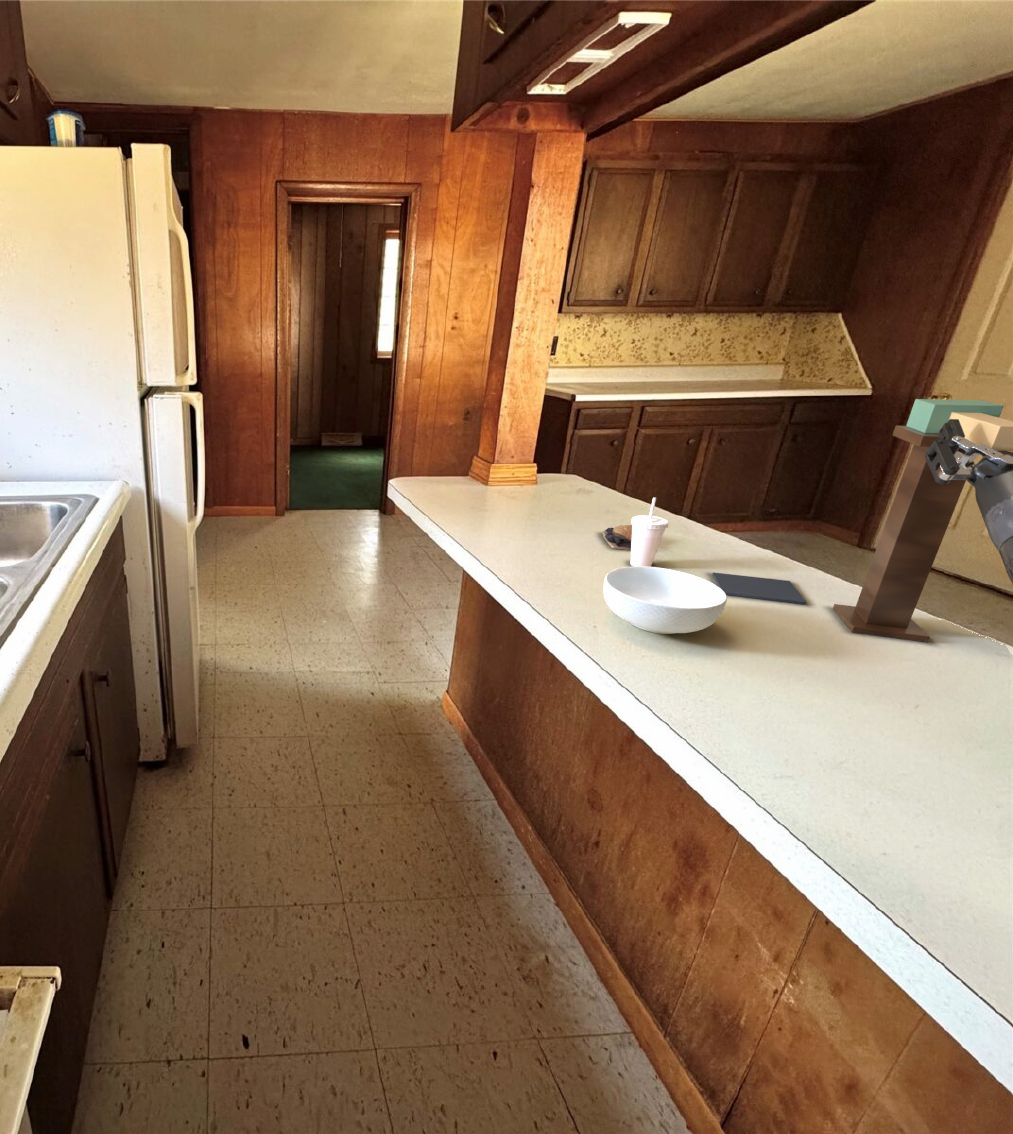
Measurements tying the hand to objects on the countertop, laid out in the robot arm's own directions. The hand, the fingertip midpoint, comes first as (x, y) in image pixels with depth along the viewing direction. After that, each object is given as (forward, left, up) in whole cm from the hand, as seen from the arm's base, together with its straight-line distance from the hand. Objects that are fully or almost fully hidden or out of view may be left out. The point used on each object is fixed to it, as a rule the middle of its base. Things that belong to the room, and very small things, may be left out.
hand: (994, 425), depth 80 cm
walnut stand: (0, -9, -33) cm, 35 cm away
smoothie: (+32, -25, -34) cm, 53 cm away
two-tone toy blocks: (0, -4, -2) cm, 5 cm away
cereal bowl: (+32, +3, -34) cm, 47 cm away
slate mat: (+14, -19, -33) cm, 41 cm away
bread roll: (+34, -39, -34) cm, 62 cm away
